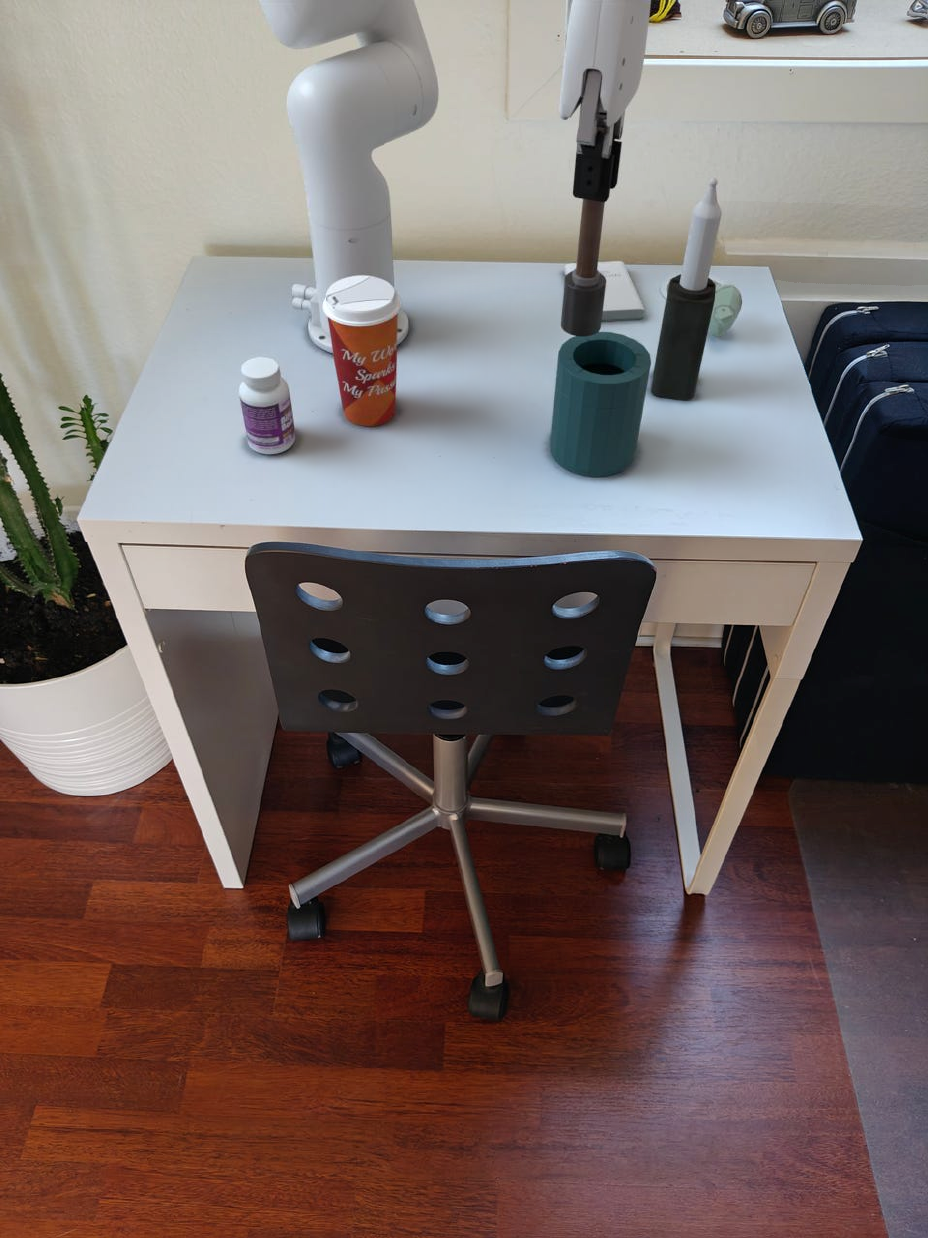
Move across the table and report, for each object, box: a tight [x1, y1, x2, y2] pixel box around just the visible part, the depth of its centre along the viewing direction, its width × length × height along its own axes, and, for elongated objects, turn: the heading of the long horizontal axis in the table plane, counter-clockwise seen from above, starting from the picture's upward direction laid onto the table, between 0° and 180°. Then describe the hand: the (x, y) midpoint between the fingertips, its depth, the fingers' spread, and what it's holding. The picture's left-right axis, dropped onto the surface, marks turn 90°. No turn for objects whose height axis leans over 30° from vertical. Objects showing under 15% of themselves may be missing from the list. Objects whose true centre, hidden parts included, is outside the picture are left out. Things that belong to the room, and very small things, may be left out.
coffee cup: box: [323, 275, 402, 427], centre depth 110 cm, size 8×8×15 cm
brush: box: [560, 127, 606, 337], centre depth 92 cm, size 4×4×19 cm
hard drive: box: [564, 260, 646, 322], centre depth 132 cm, size 2×8×12 cm
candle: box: [650, 177, 723, 401], centre depth 110 cm, size 5×5×25 cm
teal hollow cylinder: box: [549, 331, 652, 478], centre depth 107 cm, size 9×9×12 cm
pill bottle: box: [238, 356, 296, 455], centre depth 108 cm, size 5×5×10 cm
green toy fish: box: [708, 283, 743, 337], centre depth 124 cm, size 8×4×7 cm, turn 2°
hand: (594, 190), depth 89 cm, fingers closed on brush, 2 cm apart
